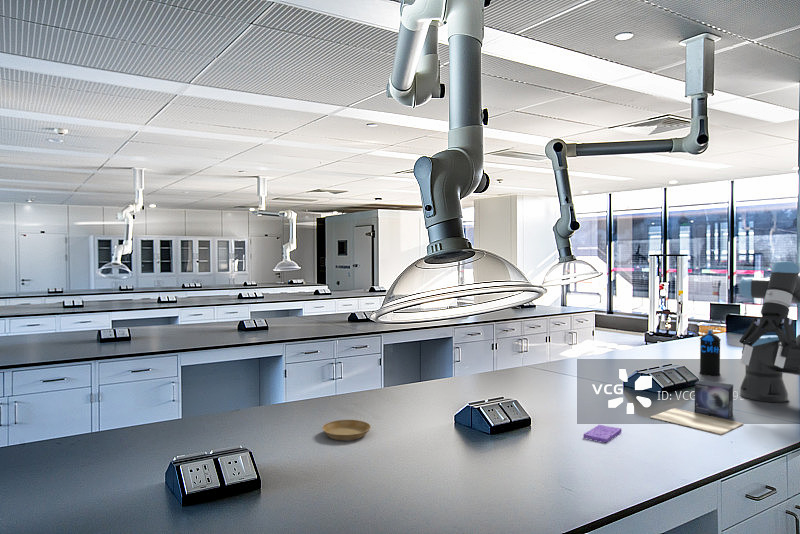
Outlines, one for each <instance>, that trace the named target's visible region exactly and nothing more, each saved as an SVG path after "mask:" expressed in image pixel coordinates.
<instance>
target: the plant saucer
mask: <svg viewBox="0 0 800 534" xmlns="http://www.w3.org/2000/svg"><path fill="white" fill-rule="evenodd" d="M370 429H371V424H370V423H368V422H366V421H363V420H358V419H340V420H335V421H329V422H327V423H325V424H323V425H322V427H321V430H322V431H323V432H324V433H325V434H326V435H327V436H328V437H329V438H330V439H333V440H334V441H354V440H358V439H362V438H363V437H364V436H365V435H367V434H368V433H369V431H370Z"/></svg>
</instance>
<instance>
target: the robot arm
mask: <svg viewBox="0 0 800 534" xmlns="http://www.w3.org/2000/svg"><path fill="white" fill-rule="evenodd" d="M739 293H740V295H741V296H742V297H744V298H750V299H764V300H763V304H762V307H761V311H760V314H761V318H756V317H753V318H752V321H751V323H750V325H749V326H748V328H747V329H746V331H745V332H744V333H743V335H742V337H741V338H740V339H739V343H740V344H743V347H742V351H741V358H740V363H741V364H742V365H745V375H744V378H743V380H742V382H741V384H740V385H741V386H740V387H739V395H740V396H741V397H743V398H746V399H750V400H754V401H758V402H759V401H760V402H765V403H767V402H769V403H783V402H787V401H789V393H788V389H787V387H786V385H785V381H784V378H783V374H789V375H795V376H800V334H798V335H797V336H796V335H795V330H794V320H793V319H792V318H789V317H788V316H789V312H790V307H791V305H792V303H794V304H796V305H798V306H800V265H799V264H797V263H796V262H794V261H788V260H778V261H776V262H775V263H773V266H772V268H771V271H770V276H765V277H743V278H742V279H741V281H740V283H739ZM767 333H775V335H772V334H771V335H768V334H767ZM765 334H767V335H765Z"/></svg>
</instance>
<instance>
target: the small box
mask: <svg viewBox="0 0 800 534" xmlns="http://www.w3.org/2000/svg"><path fill="white" fill-rule="evenodd" d="M733 404H734V384H732V383H730V384H729V383H726V382H725V383H723V382H719V381H718V382H717V381H710V380H704V379H703V380H702V379H699V380H697V381H696V382H695V383H694V413H699V414H703V415H704V414H705V415H708V416H709V415H711V416H712V417H714V416H716V417H717V418H721V419H726V420H729V419H730V418H732V417H733V416H734V412H733V408H734V405H733Z"/></svg>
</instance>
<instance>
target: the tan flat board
mask: <svg viewBox="0 0 800 534" xmlns="http://www.w3.org/2000/svg"><path fill="white" fill-rule="evenodd" d="M649 418H650V419H653V420H657V421H661V420H662V421H661V422H665V421H667V422H666V423H669V422H671V424H673V423H676V424H675V425H677V424H680V425H679V426H682V425H684V426H683V427H686V426H689V427H688V428H690V427H693V428H692V429H694V428H696V429H695V430H698V429H699V431H701V432H702V431H703V432H707V433H711V434H715V435H719V436H722V435H724V434H726V433H729V432H731V431H733V430H736V429H737V428H739V427H741V426H743V425H744V423H743V422H739V421H734V420H729V419H725V418H720V417H714V416H709V415H704V414H699V413H694V412H693V411H689V410H684V409H679V408H677V407H674V408H670V409H667V410H665V411H663V412H660V413H657V414H654V415H650V417H649Z"/></svg>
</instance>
